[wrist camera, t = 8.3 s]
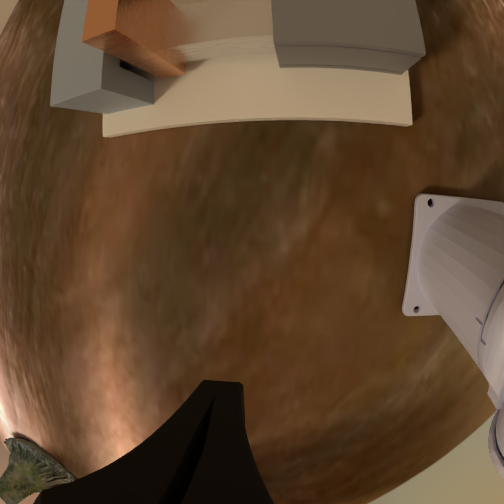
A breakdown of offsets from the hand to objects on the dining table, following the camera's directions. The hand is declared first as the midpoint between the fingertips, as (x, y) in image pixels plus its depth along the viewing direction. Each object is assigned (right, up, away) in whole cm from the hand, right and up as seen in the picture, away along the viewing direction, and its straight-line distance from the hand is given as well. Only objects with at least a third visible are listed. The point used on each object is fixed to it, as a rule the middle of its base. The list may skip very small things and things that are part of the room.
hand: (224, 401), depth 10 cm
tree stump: (-43, -39, +30) cm, 65 cm away
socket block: (-7, +17, +6) cm, 20 cm away
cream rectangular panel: (+1, +18, +6) cm, 18 cm away
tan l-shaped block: (-2, +17, +5) cm, 18 cm away
